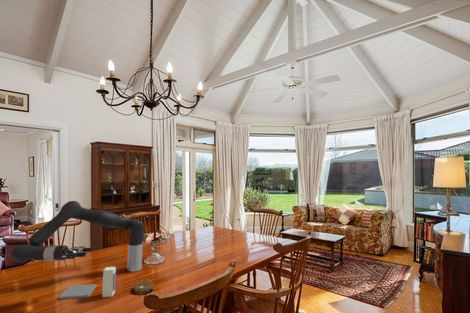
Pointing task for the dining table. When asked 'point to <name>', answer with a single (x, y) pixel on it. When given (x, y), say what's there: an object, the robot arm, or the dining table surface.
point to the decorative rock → (143, 286)
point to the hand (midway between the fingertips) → (88, 252)
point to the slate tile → (78, 291)
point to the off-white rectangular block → (109, 281)
